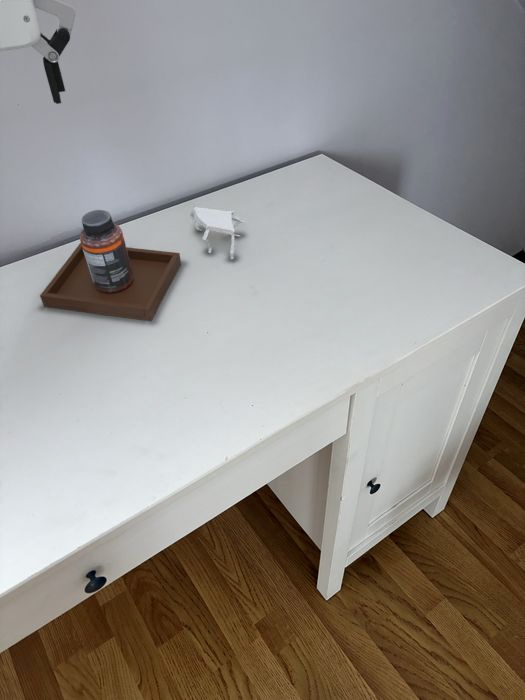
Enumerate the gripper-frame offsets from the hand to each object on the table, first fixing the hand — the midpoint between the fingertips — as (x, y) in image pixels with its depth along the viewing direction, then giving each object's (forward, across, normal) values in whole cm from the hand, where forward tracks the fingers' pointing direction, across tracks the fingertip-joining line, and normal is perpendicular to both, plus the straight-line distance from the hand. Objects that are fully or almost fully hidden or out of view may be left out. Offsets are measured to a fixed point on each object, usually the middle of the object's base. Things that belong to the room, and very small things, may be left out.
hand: (10, 105), depth 60 cm
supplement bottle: (+29, +6, +6) cm, 30 cm away
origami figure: (+30, +23, +12) cm, 39 cm away
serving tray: (+30, +6, +6) cm, 31 cm away
